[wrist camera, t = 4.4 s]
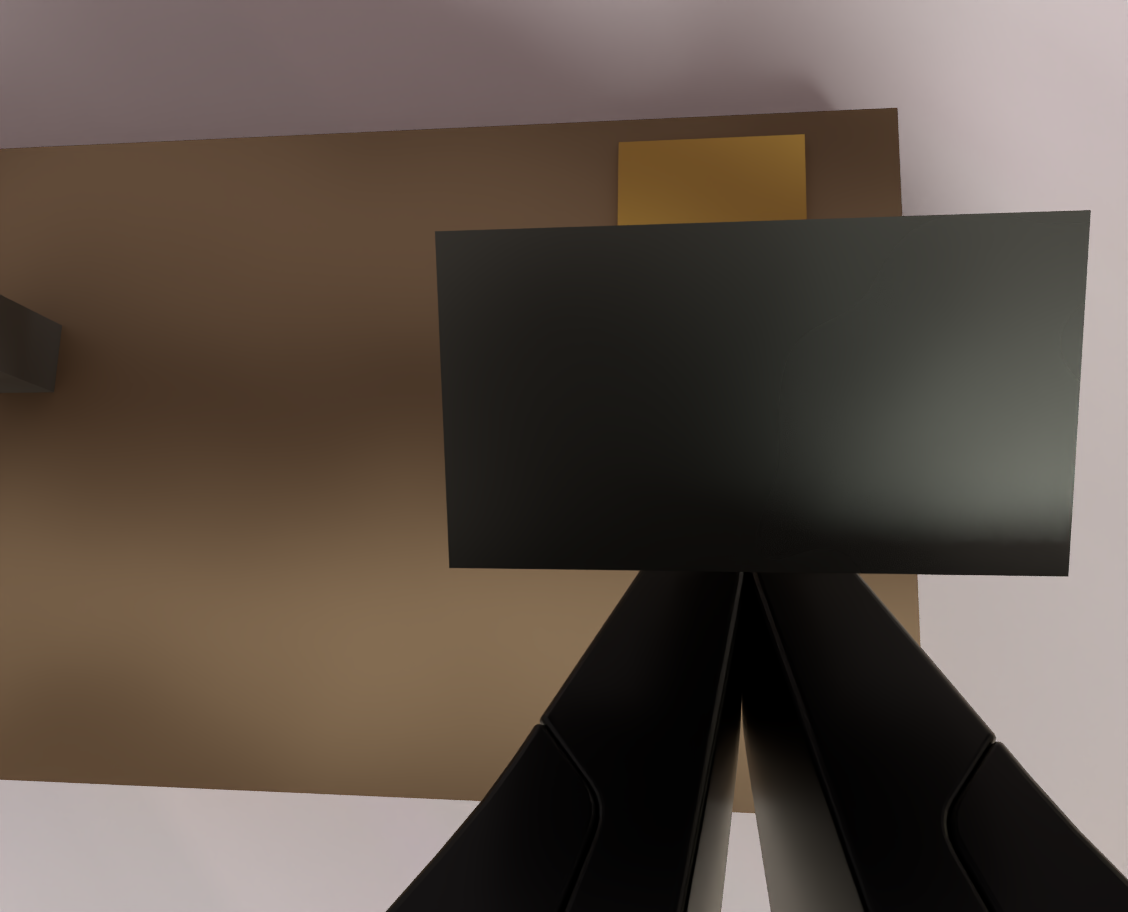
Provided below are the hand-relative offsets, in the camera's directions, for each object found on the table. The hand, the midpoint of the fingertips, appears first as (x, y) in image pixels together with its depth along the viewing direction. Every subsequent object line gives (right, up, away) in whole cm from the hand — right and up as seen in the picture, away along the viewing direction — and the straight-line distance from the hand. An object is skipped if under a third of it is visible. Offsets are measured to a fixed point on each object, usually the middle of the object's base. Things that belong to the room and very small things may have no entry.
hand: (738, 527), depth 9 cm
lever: (+1, +3, +6) cm, 6 cm away
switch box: (-6, 0, +9) cm, 11 cm away
